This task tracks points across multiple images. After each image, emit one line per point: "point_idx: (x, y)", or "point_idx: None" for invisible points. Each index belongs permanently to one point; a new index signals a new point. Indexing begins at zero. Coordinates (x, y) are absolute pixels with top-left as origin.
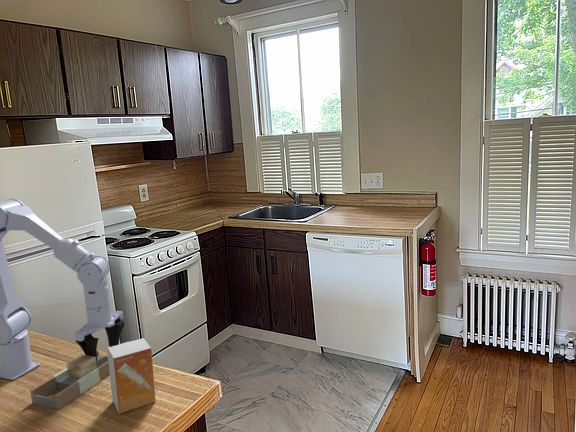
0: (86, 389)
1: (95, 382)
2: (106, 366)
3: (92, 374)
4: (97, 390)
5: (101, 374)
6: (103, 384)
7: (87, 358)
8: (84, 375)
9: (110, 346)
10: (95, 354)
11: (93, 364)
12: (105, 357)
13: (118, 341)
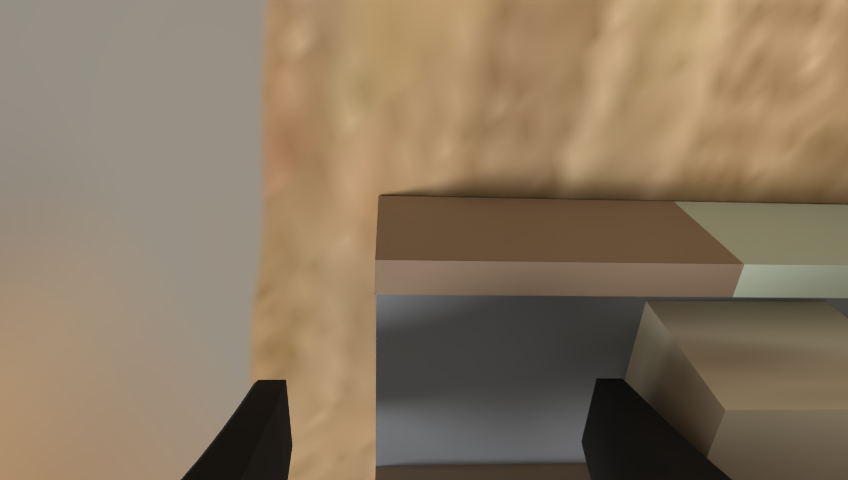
0: (836, 207)
1: (733, 209)
2: (612, 245)
3: (825, 256)
4: (834, 108)
5: (672, 223)
6: (727, 128)
7: (765, 461)
8: (825, 318)
9: (288, 461)
10: (670, 447)
11: (726, 354)
12: (396, 391)
13: (228, 439)
